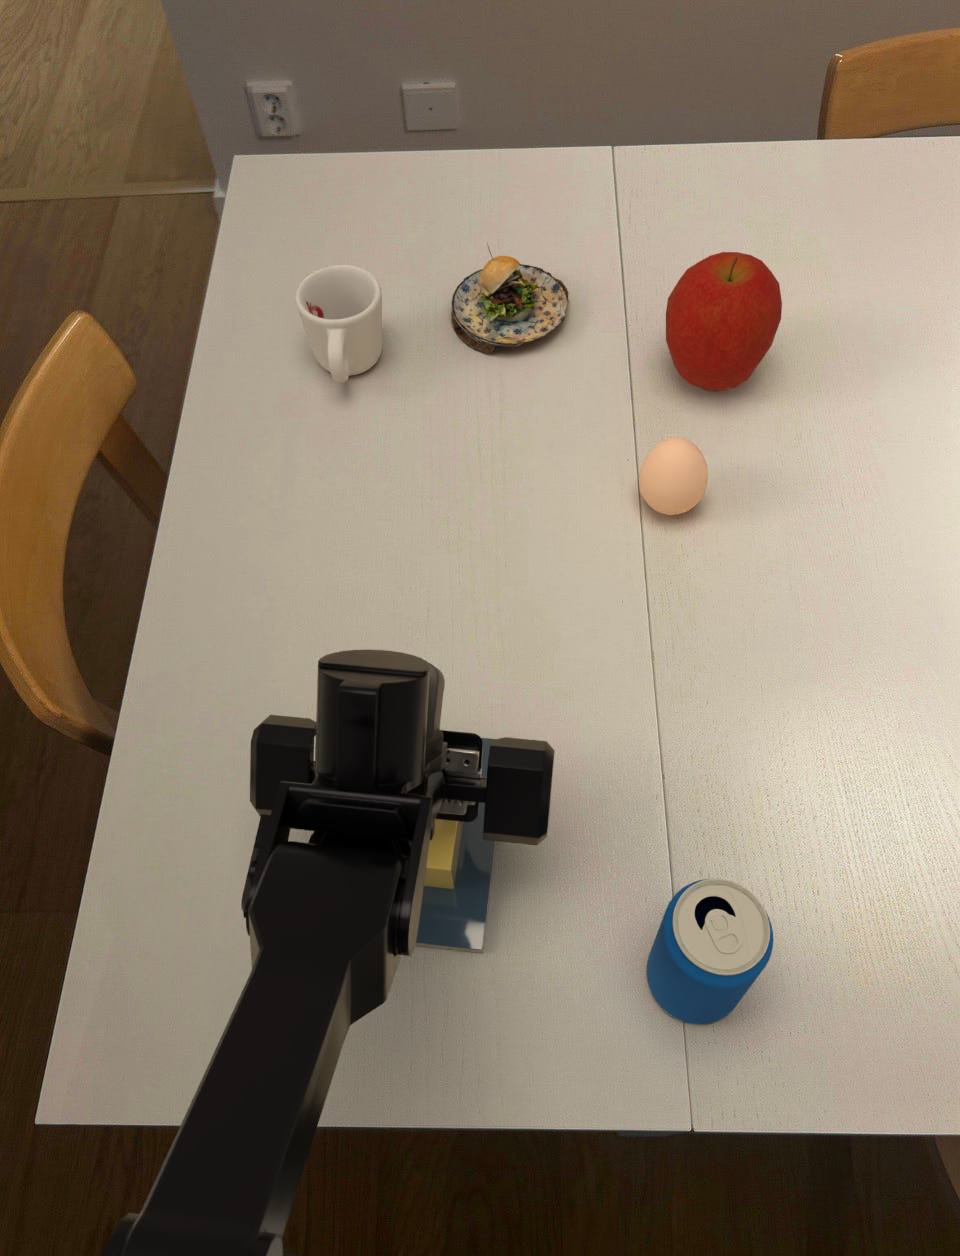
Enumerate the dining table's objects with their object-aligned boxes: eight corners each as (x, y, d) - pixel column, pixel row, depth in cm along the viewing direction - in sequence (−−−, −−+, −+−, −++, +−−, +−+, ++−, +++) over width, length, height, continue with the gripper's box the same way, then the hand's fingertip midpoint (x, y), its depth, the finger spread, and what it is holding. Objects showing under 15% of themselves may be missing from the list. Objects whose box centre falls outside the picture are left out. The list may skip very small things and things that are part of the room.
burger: (488, 374, 103) (486, 313, 96) (429, 303, 108) (424, 242, 102) (592, 327, 106) (597, 265, 99) (529, 261, 111) (530, 198, 105)
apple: (740, 329, 105) (767, 207, 93) (783, 400, 100) (817, 280, 88) (641, 352, 104) (656, 231, 92) (679, 425, 98) (700, 307, 87)
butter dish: (482, 953, 73) (480, 933, 69) (326, 935, 74) (315, 914, 70) (507, 744, 82) (506, 715, 78) (367, 731, 83) (359, 701, 79)
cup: (386, 407, 101) (376, 343, 94) (302, 408, 101) (286, 345, 94) (392, 328, 106) (383, 262, 100) (313, 329, 107) (299, 264, 100)
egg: (646, 472, 95) (654, 412, 89) (708, 488, 94) (722, 429, 88) (627, 520, 93) (635, 462, 86) (692, 537, 91) (704, 480, 85)
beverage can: (714, 915, 74) (744, 856, 64) (759, 1005, 71) (798, 957, 61) (629, 949, 73) (646, 894, 63) (671, 1042, 70) (696, 999, 60)
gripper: (556, 703, 56) (565, 636, 72) (216, 672, 58) (295, 613, 73) (540, 895, 59) (552, 791, 74) (215, 859, 61) (292, 765, 76)
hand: (423, 737), depth 74 cm, fingers closed on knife, 2 cm apart
